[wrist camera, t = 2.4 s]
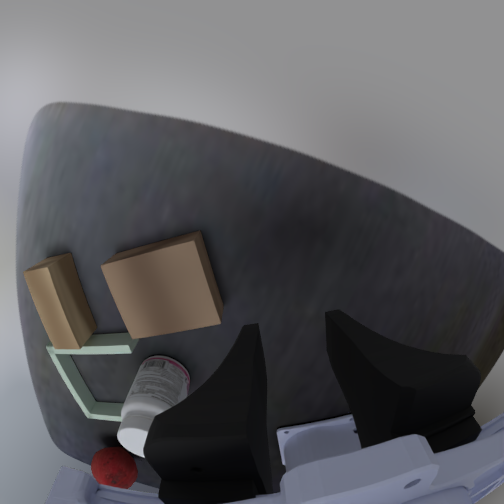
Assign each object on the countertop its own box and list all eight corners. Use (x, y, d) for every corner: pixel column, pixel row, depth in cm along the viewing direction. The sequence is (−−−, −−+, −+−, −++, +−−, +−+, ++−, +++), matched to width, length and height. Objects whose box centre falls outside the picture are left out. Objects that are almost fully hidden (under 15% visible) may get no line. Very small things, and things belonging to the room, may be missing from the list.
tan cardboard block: (201, 229, 21) (194, 240, 18) (223, 303, 22) (220, 323, 20) (117, 252, 21) (100, 265, 18) (143, 319, 23) (132, 339, 20)
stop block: (70, 252, 21) (47, 267, 17) (97, 327, 23) (80, 349, 19) (46, 258, 21) (23, 272, 17) (72, 328, 23) (54, 349, 19)
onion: (114, 429, 27) (94, 480, 19) (151, 454, 28) (138, 503, 21) (94, 440, 28) (75, 484, 20) (128, 462, 29) (115, 506, 22)
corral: (135, 332, 23) (128, 345, 21) (169, 409, 26) (165, 423, 24) (55, 335, 23) (45, 346, 21) (93, 406, 26) (87, 417, 24)
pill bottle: (178, 399, 25) (161, 468, 17) (134, 376, 24) (105, 442, 16) (200, 370, 24) (186, 445, 16) (151, 344, 23) (120, 415, 15)
